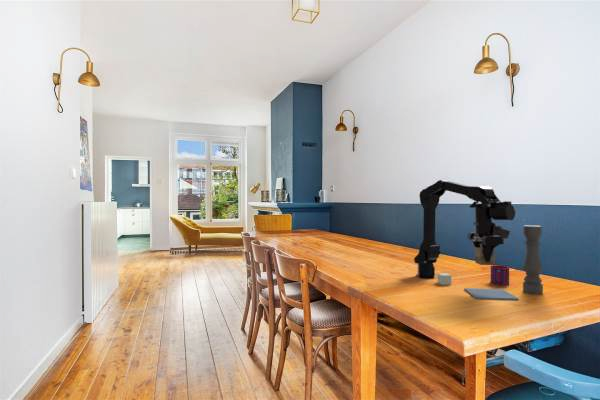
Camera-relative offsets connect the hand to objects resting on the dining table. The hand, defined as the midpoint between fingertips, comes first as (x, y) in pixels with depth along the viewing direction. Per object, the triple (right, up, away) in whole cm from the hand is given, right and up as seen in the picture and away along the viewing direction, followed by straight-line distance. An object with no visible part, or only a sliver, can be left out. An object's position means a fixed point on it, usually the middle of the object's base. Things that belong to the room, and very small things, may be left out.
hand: (484, 260), depth 129 cm
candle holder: (+17, -12, -1) cm, 21 cm away
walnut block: (0, -1, 0) cm, 1 cm away
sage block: (-10, -12, +13) cm, 20 cm away
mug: (+12, -12, +12) cm, 20 cm away
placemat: (0, -12, -4) cm, 12 cm away
